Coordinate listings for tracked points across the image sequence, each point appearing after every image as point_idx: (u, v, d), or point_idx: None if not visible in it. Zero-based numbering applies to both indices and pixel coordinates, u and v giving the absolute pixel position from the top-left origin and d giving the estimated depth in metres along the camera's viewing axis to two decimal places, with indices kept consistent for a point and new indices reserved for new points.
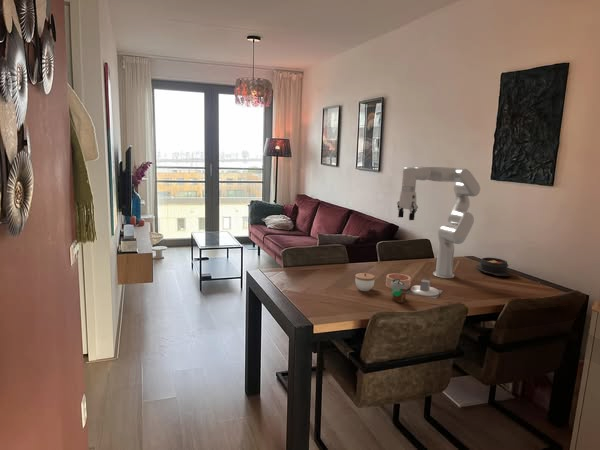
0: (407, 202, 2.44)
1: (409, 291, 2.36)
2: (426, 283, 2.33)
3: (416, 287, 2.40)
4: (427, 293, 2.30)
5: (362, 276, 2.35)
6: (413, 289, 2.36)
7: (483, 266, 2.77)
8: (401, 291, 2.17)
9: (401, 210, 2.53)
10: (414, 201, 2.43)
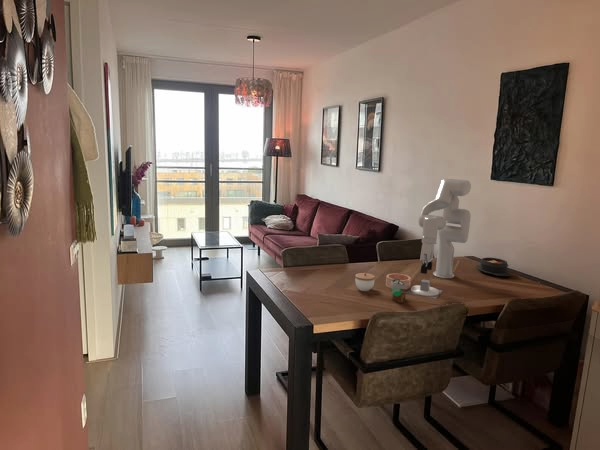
0: (433, 253, 2.34)
1: (409, 291, 2.36)
2: (426, 283, 2.33)
3: (416, 287, 2.40)
4: (427, 293, 2.30)
5: (362, 276, 2.35)
6: (413, 289, 2.36)
7: (483, 266, 2.77)
8: (401, 291, 2.18)
9: None
10: None
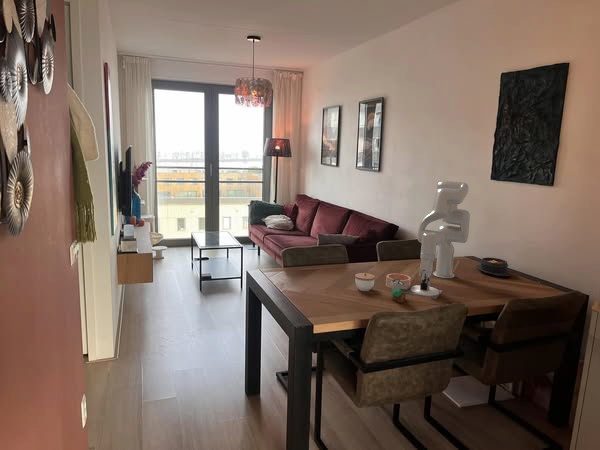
0: (432, 268, 2.35)
1: (409, 291, 2.36)
2: None
3: (416, 287, 2.40)
4: (427, 293, 2.30)
5: (362, 276, 2.35)
6: (413, 289, 2.36)
7: (483, 266, 2.77)
8: (401, 291, 2.18)
9: None
10: None
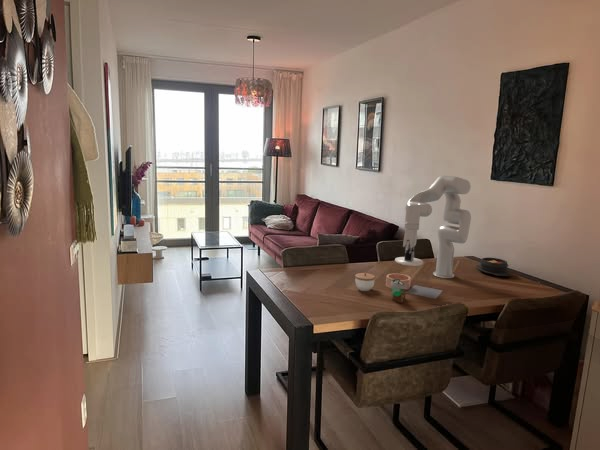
0: (416, 239, 2.38)
1: (409, 291, 2.36)
2: None
3: (400, 258, 2.42)
4: (411, 263, 2.33)
5: (362, 276, 2.35)
6: (397, 260, 2.38)
7: (483, 266, 2.77)
8: (401, 291, 2.18)
9: None
10: None
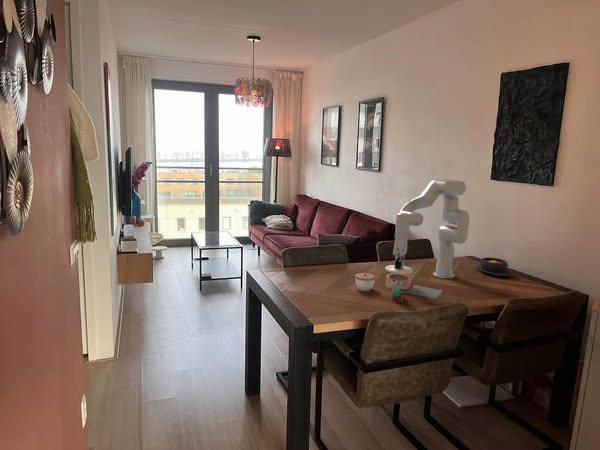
0: (406, 247, 2.41)
1: (409, 291, 2.36)
2: None
3: (391, 266, 2.45)
4: (401, 271, 2.36)
5: (362, 276, 2.35)
6: (388, 268, 2.42)
7: (483, 266, 2.77)
8: (401, 291, 2.18)
9: None
10: None
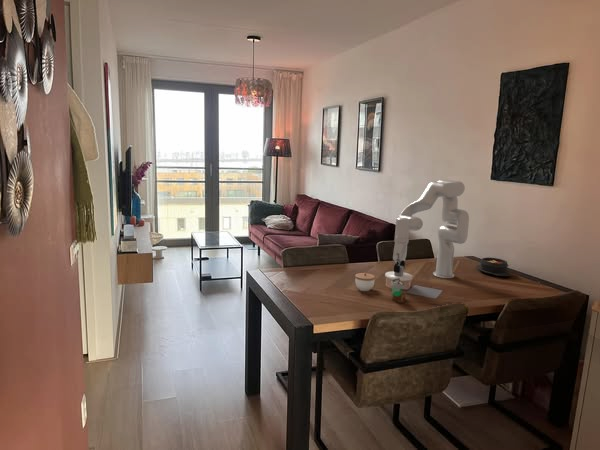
0: (406, 252, 2.42)
1: (409, 291, 2.36)
2: (400, 268, 2.40)
3: (391, 273, 2.46)
4: (400, 278, 2.37)
5: (362, 276, 2.35)
6: (387, 274, 2.43)
7: (483, 266, 2.77)
8: (401, 291, 2.18)
9: None
10: None
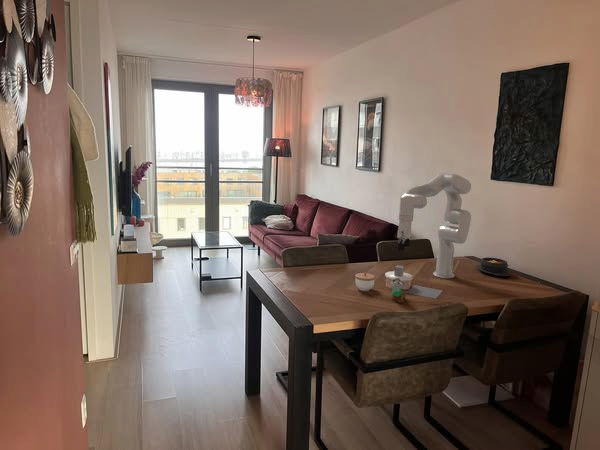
0: (410, 230, 2.40)
1: (409, 291, 2.36)
2: (400, 268, 2.40)
3: (391, 273, 2.46)
4: (400, 278, 2.37)
5: (362, 276, 2.35)
6: (387, 274, 2.43)
7: (483, 266, 2.77)
8: (401, 291, 2.17)
9: None
10: None
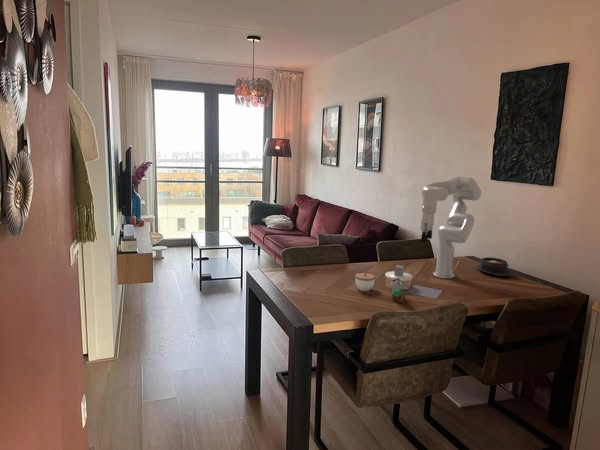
0: (433, 222, 2.46)
1: (409, 291, 2.36)
2: (400, 268, 2.40)
3: (391, 273, 2.46)
4: (400, 278, 2.37)
5: (362, 276, 2.35)
6: (387, 274, 2.43)
7: (483, 266, 2.77)
8: (401, 291, 2.18)
9: None
10: None
